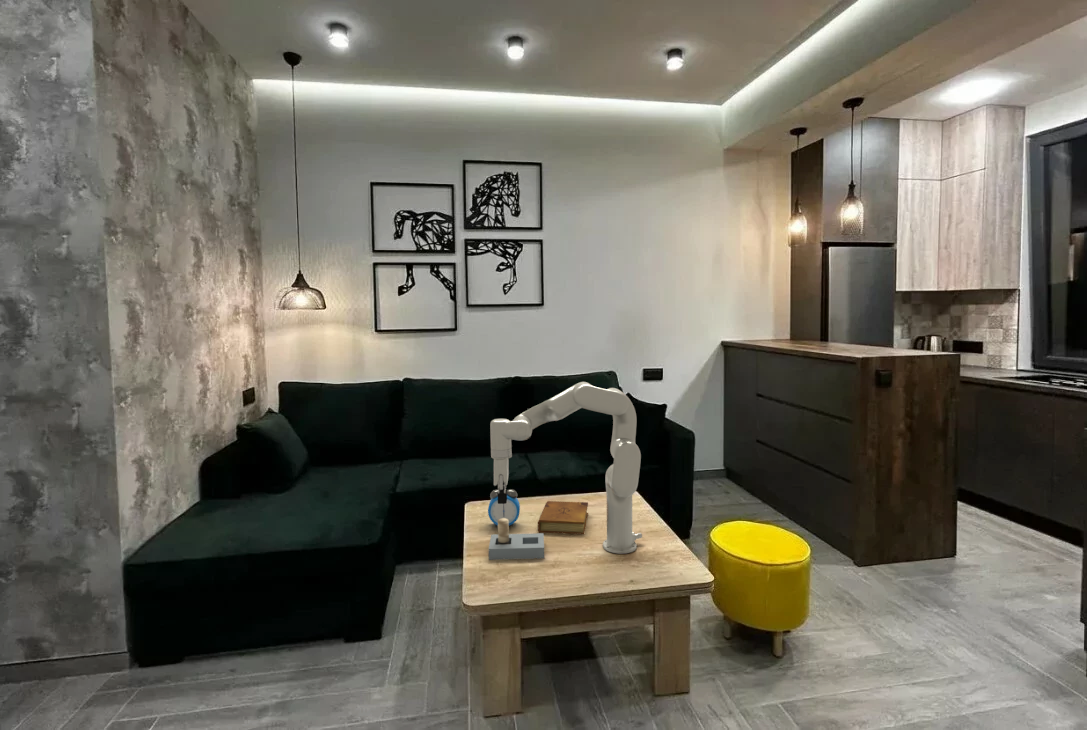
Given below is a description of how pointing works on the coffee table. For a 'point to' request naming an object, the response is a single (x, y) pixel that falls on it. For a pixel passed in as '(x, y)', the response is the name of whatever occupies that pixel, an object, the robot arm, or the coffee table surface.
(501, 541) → the dowel
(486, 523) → the coffee table surface
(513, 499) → the alarm clock
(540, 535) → the board
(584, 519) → the diary
